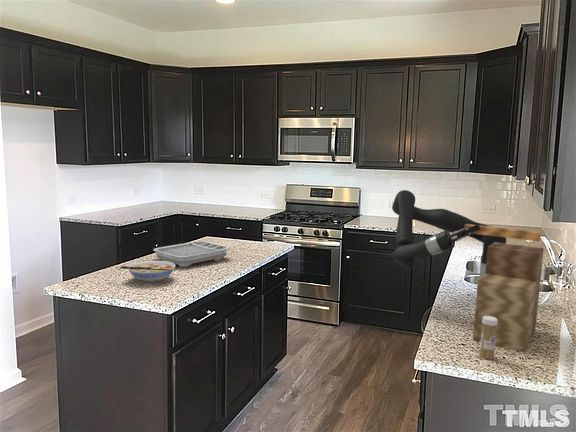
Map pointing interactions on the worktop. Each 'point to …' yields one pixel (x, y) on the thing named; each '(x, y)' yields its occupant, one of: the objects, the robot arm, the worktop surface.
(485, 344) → the sprinkles bottle
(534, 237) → the dowel
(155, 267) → the ramen bowl
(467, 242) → the worktop surface
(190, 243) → the dish rack
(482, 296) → the box
